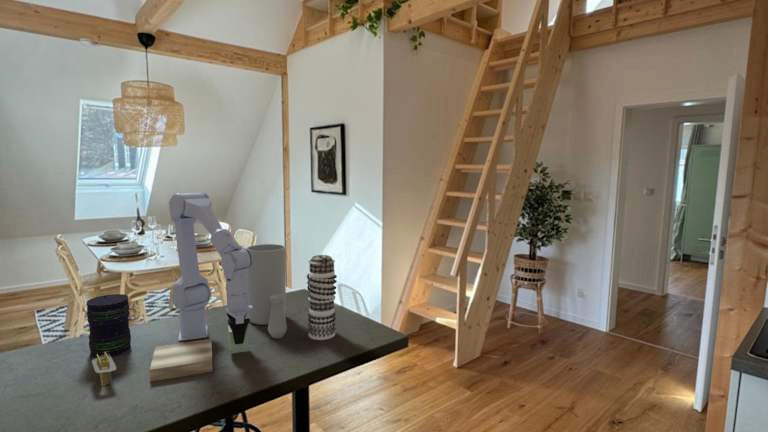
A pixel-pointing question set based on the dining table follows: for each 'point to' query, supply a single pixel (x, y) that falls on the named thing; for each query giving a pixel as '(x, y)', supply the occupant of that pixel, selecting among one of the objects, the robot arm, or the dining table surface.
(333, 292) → the black white patterned cylinder
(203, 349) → the birch base
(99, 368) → the platform
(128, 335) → the storage jar
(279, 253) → the cylinder vase
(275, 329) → the salt shaker
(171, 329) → the dining table surface
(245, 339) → the green cube
